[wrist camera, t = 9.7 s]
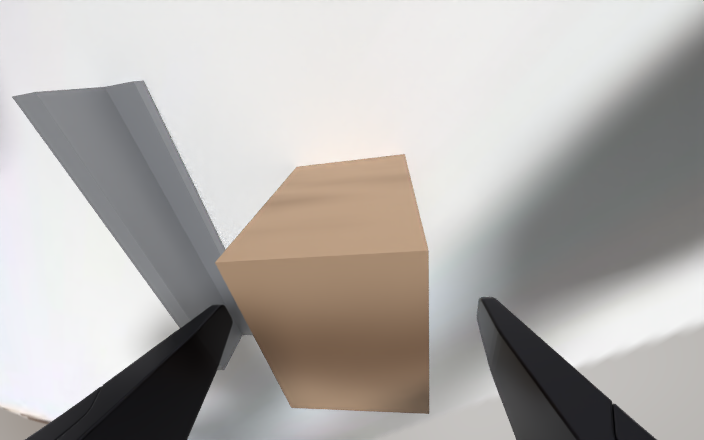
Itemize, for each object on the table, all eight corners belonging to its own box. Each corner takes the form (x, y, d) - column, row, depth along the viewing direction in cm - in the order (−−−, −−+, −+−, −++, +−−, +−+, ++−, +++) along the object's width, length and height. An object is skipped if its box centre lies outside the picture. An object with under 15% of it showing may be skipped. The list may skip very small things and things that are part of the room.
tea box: (412, 273, 15) (431, 413, 9) (324, 277, 16) (289, 407, 10) (406, 153, 11) (433, 250, 5) (295, 166, 12) (211, 262, 6)
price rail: (92, 90, 11) (7, 97, 9) (143, 80, 11) (69, 85, 8) (230, 329, 19) (207, 369, 17) (263, 328, 19) (244, 370, 16)
